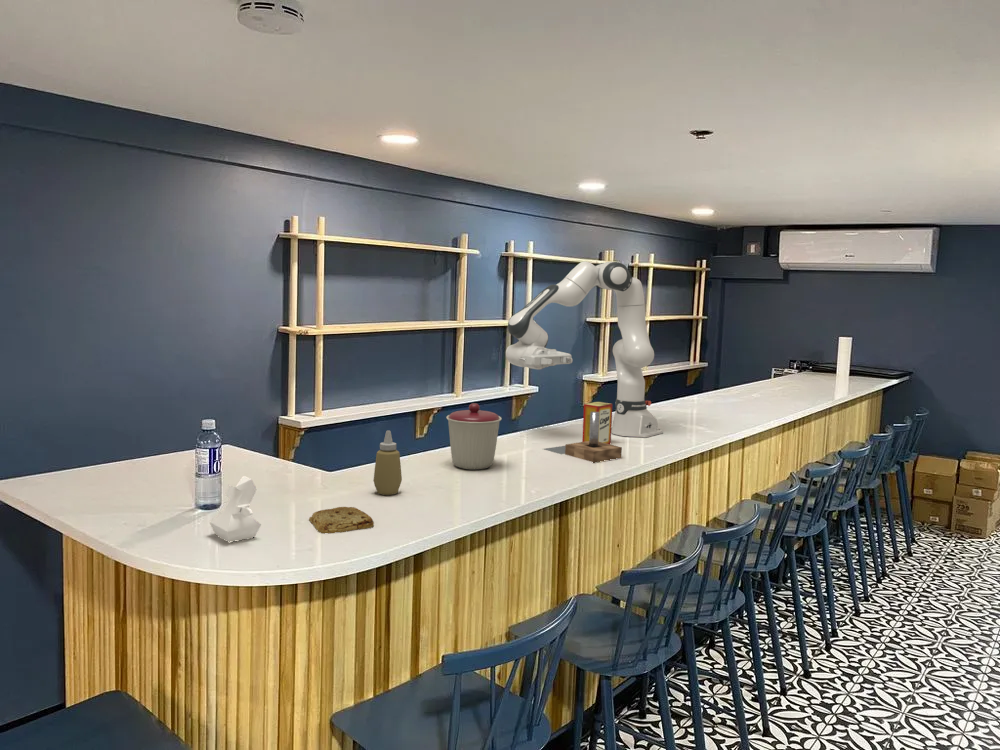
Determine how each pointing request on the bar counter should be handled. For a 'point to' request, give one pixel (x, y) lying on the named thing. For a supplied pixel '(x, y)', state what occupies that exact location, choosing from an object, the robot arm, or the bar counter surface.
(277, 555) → the bar counter surface
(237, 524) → the white faceted figurine
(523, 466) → the bar counter surface
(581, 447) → the hole block
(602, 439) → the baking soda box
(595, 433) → the pin
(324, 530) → the pastry
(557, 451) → the mat
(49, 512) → the bar counter surface
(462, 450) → the canister
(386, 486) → the squeeze bottle
